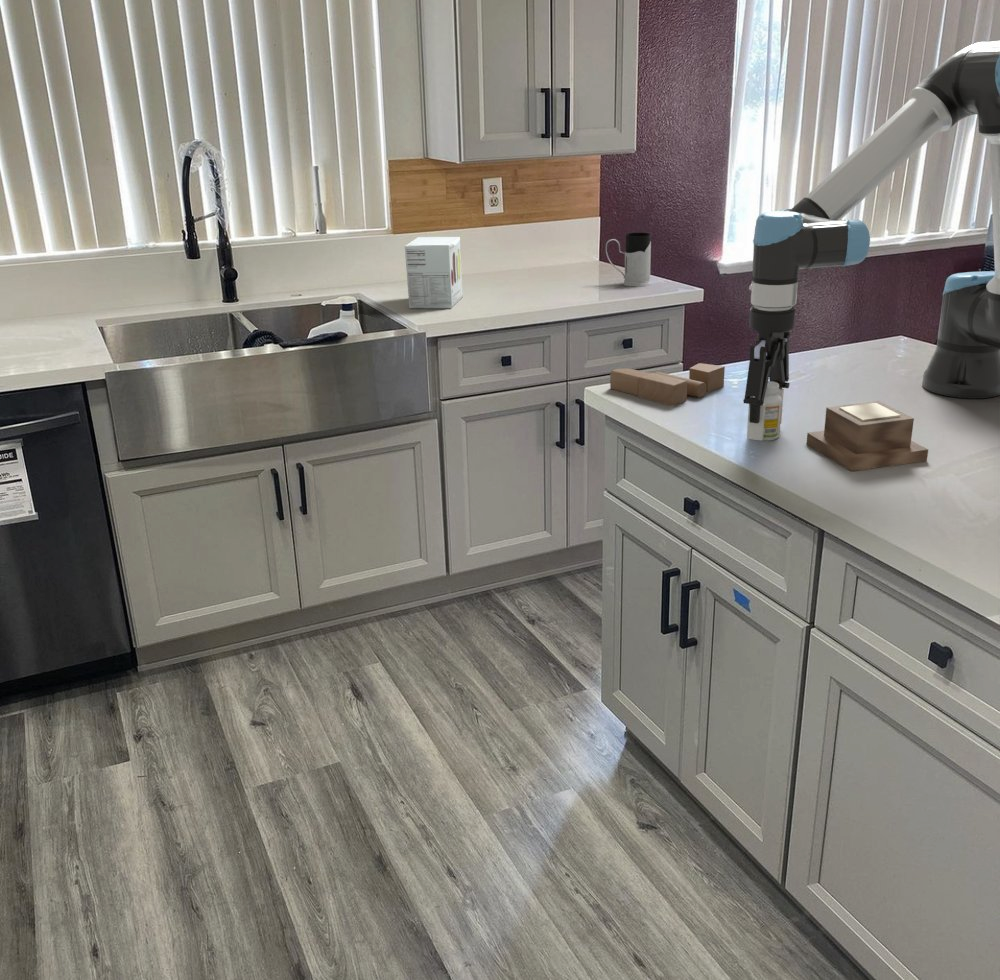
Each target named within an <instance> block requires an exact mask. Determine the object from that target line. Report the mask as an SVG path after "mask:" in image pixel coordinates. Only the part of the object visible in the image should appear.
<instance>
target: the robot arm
mask: <svg viewBox="0 0 1000 980" xmlns="http://www.w3.org/2000/svg"><path fill="white" fill-rule="evenodd" d="M973 115H977V120H978V121H977V124H978V134H979V135H980V136H982V137H983V138H985V139H986V140H987V141H988V143H989V146H988V147H989V163H990V166H989V167H990V188H991V190H990V191H991V211H992V212H991V213H992V234H993V235H992V237H993V254H994V255H993V261H994V262H993V263H994V271H993V270H990V271H988V270H987V271H983V270H982V271H967V272H957V273H953V274H951V275H950V276H948V277H947V278H946V279H945V280H946V281H945V284H944V289H943V292H942V294H941V295H942V296H941V297H942V301H941V302H942V303H941V307H940V308H941V310H940V315H939V316H940V319H939V325H938V331H937V332H938V333H937V341H936V347H935V350H934V352H933V355H932V356H931V358H930V361H929V363H928V365H927V368H926V369H925V371H924V372H923V375H922V381H921V385H922V387H923V388H924V389H925V390H927V391H928V392H931V393H934V394H937V395H942V396H946V397H952V398H958V399H959V398H960V399H987V398H994V397H997V396H1000V40H987V41H986V40H984V41H983V40H982V41H979V42H975V43H974V44H973V43H972V44H970V45H968V46H966V47H964V48H962V49H960V50H959V51H957V52H955V53H954V54H953V55H951V56H950V57H948V58H947V59H946V60H945V61H943V62H942V63H941V64H939V65H938V66H937V67H935V69H934V70H932V71H931V72H930V73H929V74H928V75H926V76H925V77H924V78H923V79H922V80H921V81H920V82H919V83H917V85H916V86H914V87H913V88H912V89H911V90H910V92H909V95H908V101H906V102H905V104H903V105H902V106H901V107H900V108H899V109H898V110H897V111H896V112H895V113H894V114H893V115H892V116H891V117H889V119H887V120H886V121H885V122H884V123H883V124H882V125H880V126H879V128H878V129H876V130H875V131H874V132H873V133H872V134H871V135H869V137H868V138H866V140H864V141H863V142H862V143H861V144H860V145H859V146H858V147H857V148H856V149H855V150H854V151H853V152H851V153H850V154H849V155H848V156H847V157H846V158H844V160H843V161H841V163H840V164H838V165H837V167H836V168H835V169H833V170H832V171H831V172H830V173H828V175H827V176H825V177H824V179H823V180H821V182H819V183H818V184H817V185H816V186H815V187H814V188H813V189H812V190H810V191H809V193H808V194H806V195H805V196H804V197H802V199H801V200H800V201H799V202H797V204H795V205H794V206H793V207H791V208H786V209H779V210H777V211H775V210H774V211H773V210H772V211H767V212H763V213H761V214H759V215H758V216H757V218H756V221H755V226H754V234H753V235H754V236H753V240H752V243H753V254H752V255H753V256H752V257H753V259H752V272H751V273H752V278H751V284H750V285H749V286H748V290H749V291H750V292H751V294H750V304H751V305H752V306H751V307H750V308H749V322H748V325H749V326H748V327H749V328H750V329H751V330H753V332H755V331H756V332H757V333H758V337H757V339H756V341H755V345H751V346H750V347H749V363H748V371H747V377H746V384H745V385H746V386H745V392H744V399H743V404H746V405H747V404H748V412H747V413H748V414H747V426H746V428H747V430H746V440H747V439H750V440H755V441H761V442H763V441H764V440H763V434H764V420H765V405H766V404H763V403H764V398H765V393H766V389H767V384H768V381H773V382H776V383H778V384H779V392H778V393H777V394H778V395H779V396H780V397H781V398H782V409H781V423H780V425H782V419H783V408H784V407H783V406H784V404H783V403H784V392H785V389H789V388H790V382H789V379H790V373H789V371H790V369H789V366H790V365H789V364H790V362H789V361H790V355H789V353H790V350H789V348H790V346H789V345H790V335H791V331H792V330H793V329H794V328H795V319H796V318H795V317H796V308H795V307H794V306H796V304H797V295H798V283H799V271H800V270H807V269H816V268H817V269H820V268H833V267H834V268H835V267H842V268H844V267H846V266H852V265H858V264H860V263H862V262H863V261H864V260H865V259H866V257H867V256H868V254H869V251H870V244H871V236H870V231H869V227H868V226H867V225H866V223H865V222H864V221H862V220H860V219H848V218H845V217H846V216H847V215H848V214H849V213H850V212H851V211H852V210H853V209H855V208H856V207H857V206H858V205H859V204H860V203H861V202H862V201H863V200H864V199H866V197H868V196H869V195H870V194H871V193H872V192H873V191H874V190H875V189H876V188H877V187H879V185H881V184H882V183H883V182H885V180H887V178H889V177H890V176H891V175H892V174H893V173H894V172H895V171H896V170H897V169H898V168H899V167H900V166H902V165H903V164H904V163H905V162H906V161H907V160H909V159H910V158H911V157H912V156H913V155H914V154H915V153H916V152H917V151H919V149H920V148H922V147H923V146H924V145H925V144H926V143H927V142H928V141H929V140H930V139H932V138H933V136H934V135H936V134H937V133H938V132H940V133H941V132H947V131H949V130H951V128H952V127H954V125H956V124H957V123H958V122H960V121H961V120H963V119H965V118H967V117H970V116H973ZM843 218H845V219H843Z"/></svg>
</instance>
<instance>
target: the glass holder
mask: <svg viewBox="0 0 1000 980" xmlns="http://www.w3.org/2000/svg"><path fill="white" fill-rule="evenodd" d="M612 241H613V242H614V241H615V242H616V244H618V252H619V253H621V254H624V272H623V271H621V270H620V269H619V268H618V267H617V266H615V264H613V262H612V260H610V257H609V255H608V243H610V242H612ZM651 249H652V241H651V233H648V232H629V233H626V234H625V251H621V244H620V241H618V240H617V239H616V238H612V239H609V240H607V241H606V244H605V254H606V255H605V256H606V257H607V260H608V261H609V264H610V265H611V266H612V267H613V268H614V269H616V270H617V271H618V272H619V273H621V275H622V276H623V279H624V280H623V282H622V285H624V286H626V287H635V288H636V287H646V286H651V285H652V281H651V260H652V259H651V257H652V253H651V252H652V251H651Z"/></svg>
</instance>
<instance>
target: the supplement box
mask: <svg viewBox="0 0 1000 980" xmlns="http://www.w3.org/2000/svg"><path fill="white" fill-rule="evenodd" d="M461 251H462V250H461V237H460V236H418V237H416V238H414V239H413V240H412V241H410V242H409V243H407V244H405V245H404V253H405V269H406V280H407V293H408V294H407V295H408V307H409V309H452V308H454V306H455V305H457V303H458V302H459V301H460V300H462V298H463V297H464V295H463V294H464V293H463V276H462V275H463V274H462V258H461V257H462V254H461Z"/></svg>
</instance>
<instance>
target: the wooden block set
mask: <svg viewBox="0 0 1000 980" xmlns="http://www.w3.org/2000/svg"><path fill="white" fill-rule="evenodd" d="M725 367H726V366H723V365H716V364H708V363H702V362H700V363H697V364H695V365H693V366H691V367H689V374H688V375H689V377H688V378H687V377H682V376H678V375H673V374H669V373H665V372H660V371H656V372H651V373H650V372H646V371H641V370H637V369H634V368H615V369H613V370H611V371H610V372H609V373H610V375H609V376H610V379H609V381H610V383H609V384H610V385H609V387H610V390H613V391H617V392H622V393H625V394H629V395H633V396H637V397H638V398H641V399H644V400H648V401H652V402H656V403H661V404H664V405H668V406H677V405H678V404H679V405H680V404H682V403H685V402H687V399H688V396H689V397H693V398H704V396H705V395H706V394H707V393H710V392H713V391H716V390H718V389H721V388H724V387H725Z"/></svg>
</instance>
